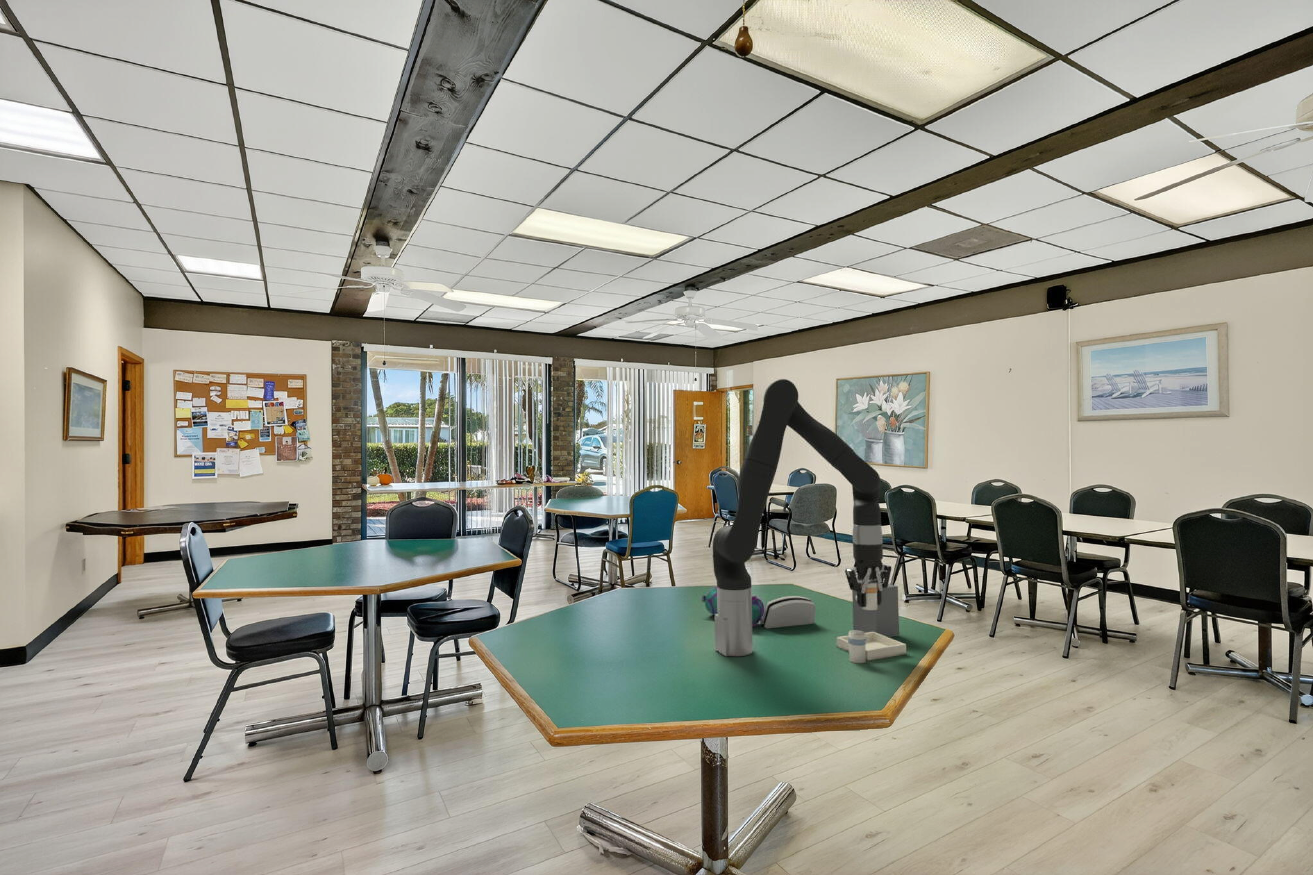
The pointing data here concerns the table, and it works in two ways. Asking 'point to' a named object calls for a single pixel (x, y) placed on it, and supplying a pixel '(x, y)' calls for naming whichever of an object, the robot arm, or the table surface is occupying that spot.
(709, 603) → the pencil case
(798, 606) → the white slotted rounded block
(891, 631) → the control box
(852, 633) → the blue-band fuse
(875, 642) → the parts tray
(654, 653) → the table surface
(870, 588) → the white orange rounded cylinder
